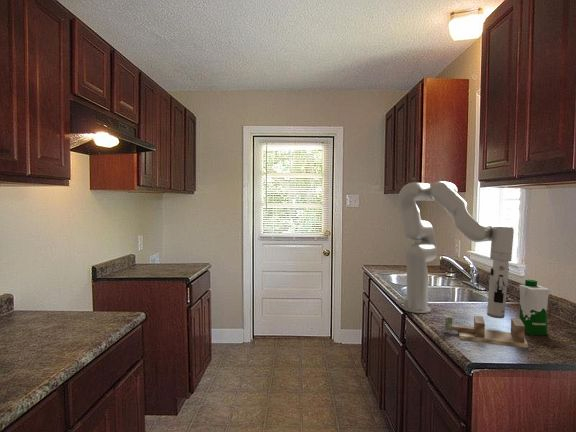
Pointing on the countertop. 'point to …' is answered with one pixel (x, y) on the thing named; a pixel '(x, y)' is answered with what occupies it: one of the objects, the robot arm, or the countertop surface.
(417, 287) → the robot arm
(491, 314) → the travel mug
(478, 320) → the sliding jaw
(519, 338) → the base
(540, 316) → the milk carton
